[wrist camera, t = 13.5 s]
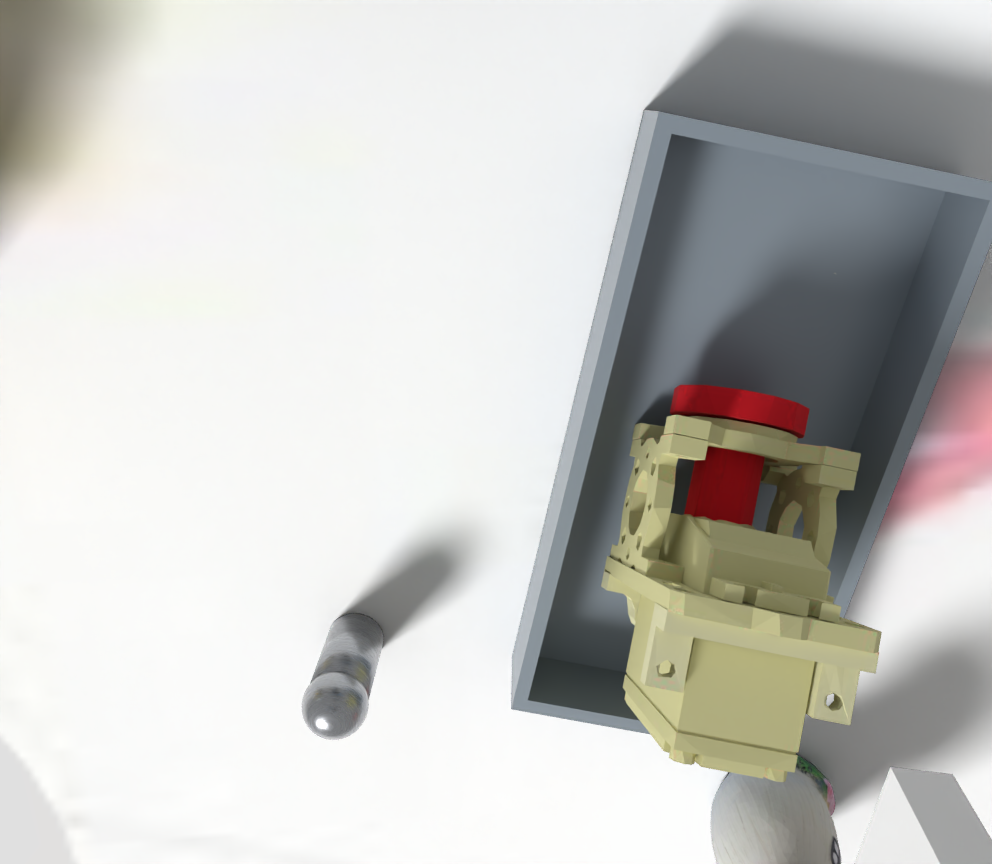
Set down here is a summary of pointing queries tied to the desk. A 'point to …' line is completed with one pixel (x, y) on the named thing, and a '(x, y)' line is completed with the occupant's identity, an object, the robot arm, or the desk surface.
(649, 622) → the mechanical component
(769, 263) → the parts bin
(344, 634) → the ball stud post
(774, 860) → the decorative ornament
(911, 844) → the robot arm
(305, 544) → the desk surface
